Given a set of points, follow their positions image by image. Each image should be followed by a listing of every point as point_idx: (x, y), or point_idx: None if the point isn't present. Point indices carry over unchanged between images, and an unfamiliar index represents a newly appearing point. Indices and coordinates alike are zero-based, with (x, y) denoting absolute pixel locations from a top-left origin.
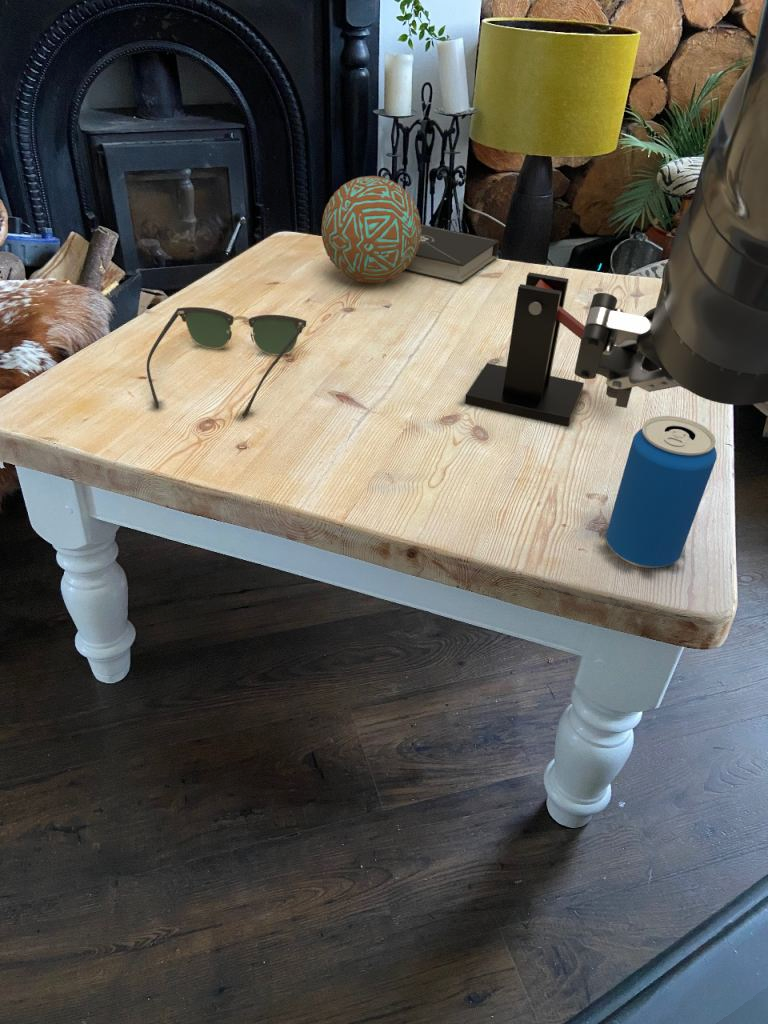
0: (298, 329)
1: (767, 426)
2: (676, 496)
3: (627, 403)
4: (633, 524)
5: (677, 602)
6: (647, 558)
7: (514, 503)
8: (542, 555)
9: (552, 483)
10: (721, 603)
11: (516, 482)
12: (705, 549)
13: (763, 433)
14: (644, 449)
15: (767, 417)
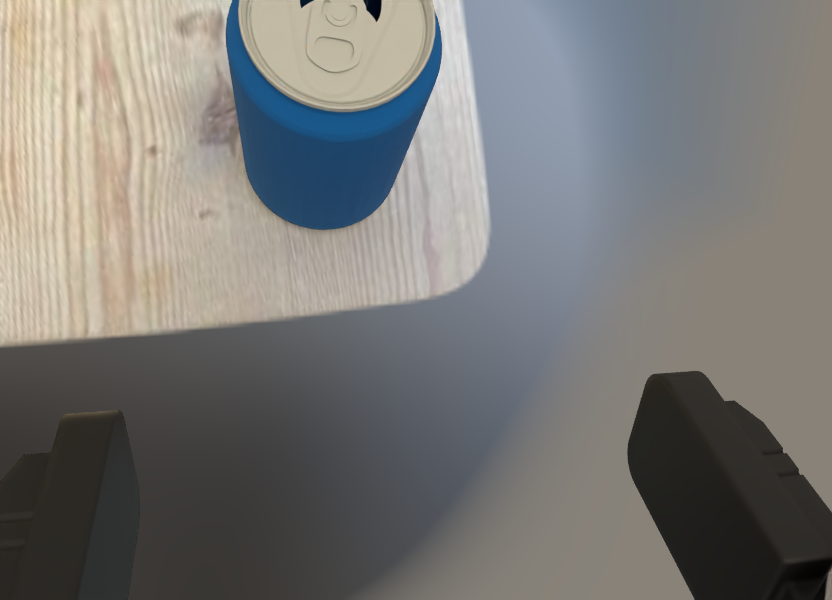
0: None
1: (650, 480)
2: (369, 164)
3: (130, 577)
4: (293, 196)
5: (411, 286)
6: (339, 222)
7: (25, 120)
8: (132, 268)
9: (92, 12)
10: (484, 252)
11: (9, 41)
12: (437, 108)
13: (629, 454)
14: (263, 97)
15: (642, 410)
